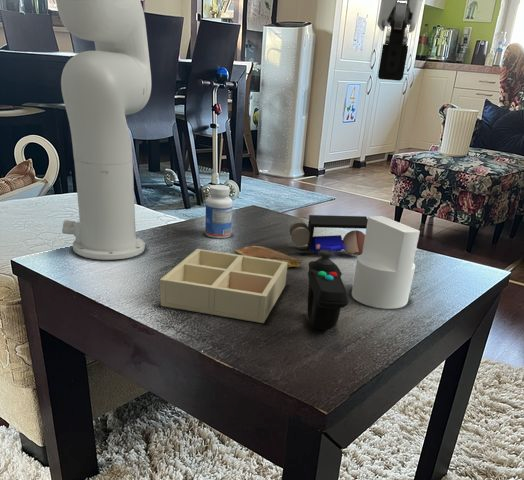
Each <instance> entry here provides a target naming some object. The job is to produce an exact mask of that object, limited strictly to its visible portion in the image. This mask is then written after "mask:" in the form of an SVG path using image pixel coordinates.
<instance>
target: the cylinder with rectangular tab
mask: <svg viewBox="0 0 524 480" xmlns="http://www.w3.org/2000/svg"><path fill="white" fill-rule="evenodd" d="M367 219H368V222H367V228H366V229H365V233H364V234H365V240H364V246H363V252H362V254H361V255H359V256H357V258H356V263H355V264H356V265H355V269H354V276H353V283H352V287H351V288H352V289H351V297H352V298H353V299H354V300H356V301H357V302H359V303H360V304H363V305H364V306H365V305H366V306H368V307H372V308H377V309H384V310H385V309H387V310H389V309H390V310H391V309H392V310H393V309H401V308H403V307H405V306H406V305H407V304H408V303H409V298H410V294H411V289H412V285H413V280H414V274H415V270H416V264H415V263H414V262H415V258H416V257H415V256H416V252H417V248H418V243H419V238H420V235H421V234H420V233H421V230H419V229H416V228H414V227H412V226H409V225H406V224H404V223H401V222H399V221H397V220H394V219H391V218H390V217H389V218H388V217H386V216H384V215H374V216H368V217H367Z"/></svg>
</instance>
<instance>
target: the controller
mask: <svg viewBox="0 0 524 480" xmlns="http://www.w3.org/2000/svg"><path fill="white" fill-rule="evenodd" d="M334 253H335V252H334V251H330V250H320V251H319V252H317V254H318V255H319V256H320V258H318V259H316V260H311V261H308V273H307V280H308V289H307V317H308V318H307V319H308V324H309V325H310V326H311V328H313V329H315V330H326V331H327V330H331V329H333V328H335V326H337V323H338V322H339V317H340V314H341V309H343V308H346V307H347V306H348V305H349V301H348V300H349V299H348V292H347V289H346V287H345V284H344V283H343V280H342V272H341V270H340V269H339V267H338V265H337V264H336V263H335V262H334V261H333V260H332V259H331V257H333V256H334Z"/></svg>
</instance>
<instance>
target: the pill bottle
mask: <svg viewBox="0 0 524 480" xmlns="http://www.w3.org/2000/svg"><path fill="white" fill-rule="evenodd" d="M208 192H209V195H210V196H208V197H207V198H206V200H205V221H204V222H205V223H204V224H205V227H204V233H205V236H207V237H210V238H213V239H227V238H229V237H231V236H232V224H233V205H234V202H233V200H232V198H231V197H229V196H230V194H231V188H230V186H228V185H224V184H211V185H210V186H209V191H208Z"/></svg>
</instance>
